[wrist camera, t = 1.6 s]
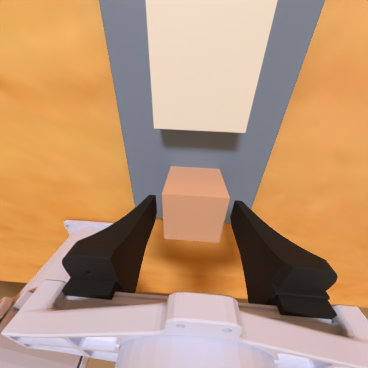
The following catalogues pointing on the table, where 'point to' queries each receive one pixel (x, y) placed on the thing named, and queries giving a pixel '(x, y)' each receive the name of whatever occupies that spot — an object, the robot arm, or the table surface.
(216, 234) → the terracotta block
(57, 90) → the table surface
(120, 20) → the board
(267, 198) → the table surface
